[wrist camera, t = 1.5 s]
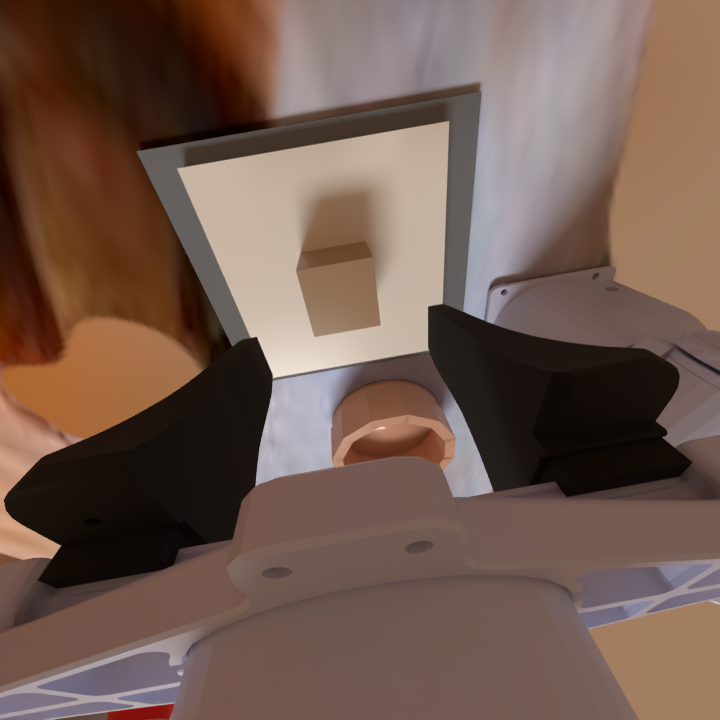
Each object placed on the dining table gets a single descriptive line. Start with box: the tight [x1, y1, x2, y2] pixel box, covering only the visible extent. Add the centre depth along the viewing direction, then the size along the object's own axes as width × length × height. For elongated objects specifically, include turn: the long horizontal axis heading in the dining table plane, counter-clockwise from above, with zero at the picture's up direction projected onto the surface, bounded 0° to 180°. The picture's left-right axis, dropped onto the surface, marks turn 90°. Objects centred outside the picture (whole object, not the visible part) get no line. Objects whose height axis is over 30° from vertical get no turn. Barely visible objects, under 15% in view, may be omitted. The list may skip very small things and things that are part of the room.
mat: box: [137, 92, 481, 380], centre depth 19 cm, size 18×16×1 cm
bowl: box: [331, 380, 456, 471], centre depth 27 cm, size 11×11×4 cm
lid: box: [177, 121, 449, 378], centre depth 17 cm, size 14×14×4 cm
